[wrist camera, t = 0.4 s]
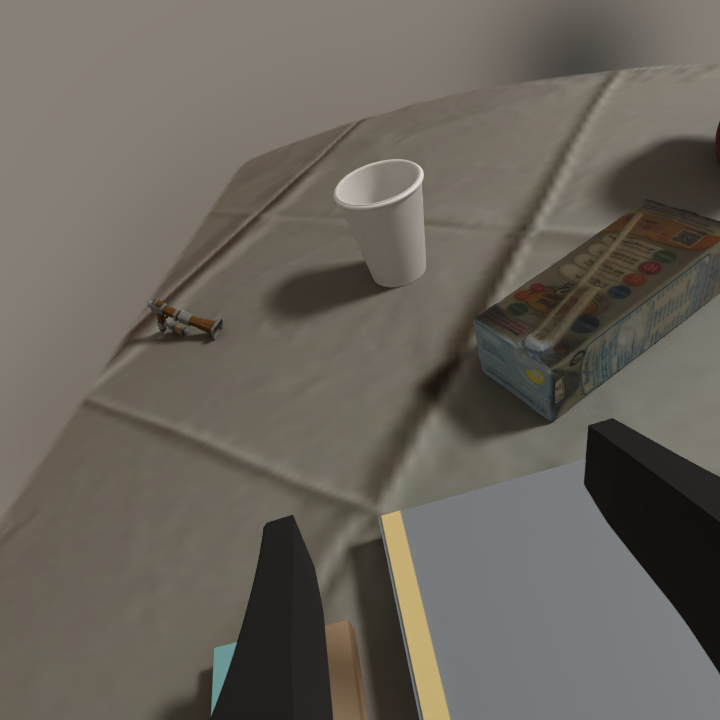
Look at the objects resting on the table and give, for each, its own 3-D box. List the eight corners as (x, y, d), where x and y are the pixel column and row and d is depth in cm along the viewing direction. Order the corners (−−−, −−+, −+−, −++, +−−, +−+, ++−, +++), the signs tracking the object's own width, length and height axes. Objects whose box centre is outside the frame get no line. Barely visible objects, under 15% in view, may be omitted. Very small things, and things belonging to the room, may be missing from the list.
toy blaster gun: (158, 320, 57) (151, 291, 53) (224, 344, 56) (221, 316, 52) (149, 331, 56) (141, 303, 52) (216, 356, 55) (213, 328, 51)
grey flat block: (883, 955, 18) (920, 965, 16) (493, 1038, 19) (487, 1056, 17) (598, 476, 32) (601, 453, 31) (387, 535, 33) (378, 516, 31)
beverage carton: (474, 370, 41) (465, 309, 37) (637, 256, 46) (647, 188, 41) (550, 429, 36) (551, 365, 31) (728, 292, 40) (751, 219, 36)
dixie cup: (421, 300, 49) (400, 207, 42) (346, 291, 53) (316, 205, 46) (451, 248, 53) (436, 156, 47) (380, 244, 57) (357, 159, 51)
